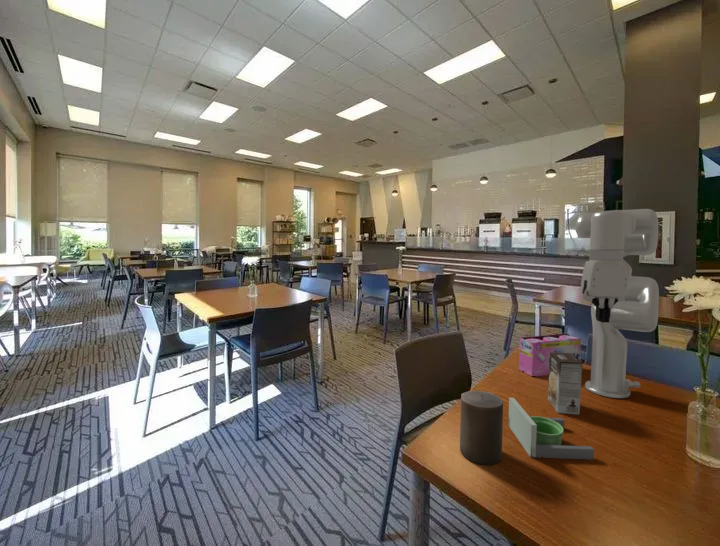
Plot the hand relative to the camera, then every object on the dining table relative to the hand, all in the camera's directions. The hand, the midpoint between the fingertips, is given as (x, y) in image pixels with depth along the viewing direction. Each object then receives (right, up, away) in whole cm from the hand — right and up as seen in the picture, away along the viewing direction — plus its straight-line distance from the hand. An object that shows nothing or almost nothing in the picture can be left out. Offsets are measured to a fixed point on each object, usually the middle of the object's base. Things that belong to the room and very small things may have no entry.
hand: (602, 321), depth 95 cm
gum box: (+7, -26, +40) cm, 48 cm away
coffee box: (-5, -28, +10) cm, 30 cm away
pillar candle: (-39, -30, -13) cm, 51 cm away
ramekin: (-21, -30, -8) cm, 38 cm away
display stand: (-20, -30, -8) cm, 37 cm away
